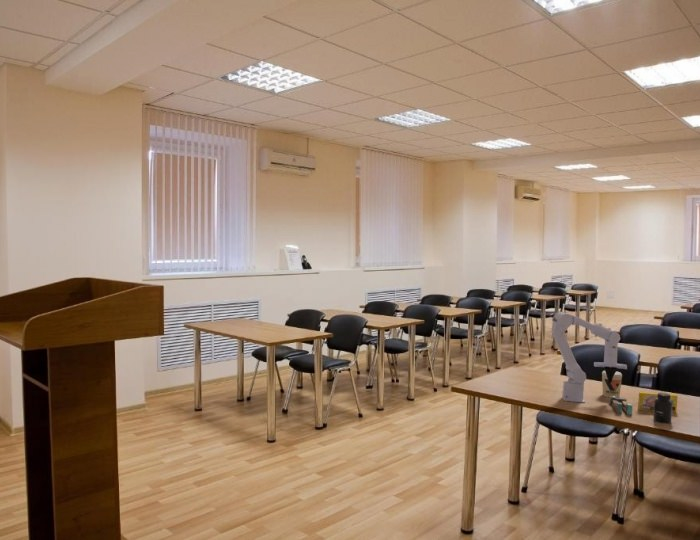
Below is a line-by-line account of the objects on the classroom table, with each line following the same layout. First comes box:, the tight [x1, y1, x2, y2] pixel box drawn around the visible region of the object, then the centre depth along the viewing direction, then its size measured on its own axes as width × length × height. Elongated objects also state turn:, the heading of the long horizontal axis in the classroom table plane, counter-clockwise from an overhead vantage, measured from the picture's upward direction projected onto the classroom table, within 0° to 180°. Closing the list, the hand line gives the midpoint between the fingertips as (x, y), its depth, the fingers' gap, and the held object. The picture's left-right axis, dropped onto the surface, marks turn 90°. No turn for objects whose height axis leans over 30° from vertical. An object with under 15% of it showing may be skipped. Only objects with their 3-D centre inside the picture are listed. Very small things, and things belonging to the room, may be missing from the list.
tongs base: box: [608, 396, 633, 416], centre depth 253 cm, size 7×17×4 cm, turn 164°
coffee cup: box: [601, 370, 623, 398], centre depth 277 cm, size 9×9×12 cm
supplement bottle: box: [653, 392, 673, 424], centre depth 236 cm, size 7×7×12 cm
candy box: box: [637, 391, 678, 413], centre depth 252 cm, size 16×2×8 cm, turn 80°
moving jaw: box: [611, 400, 623, 415], centre depth 252 cm, size 2×12×4 cm, turn 163°
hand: (609, 382), depth 266 cm, fingers closed
